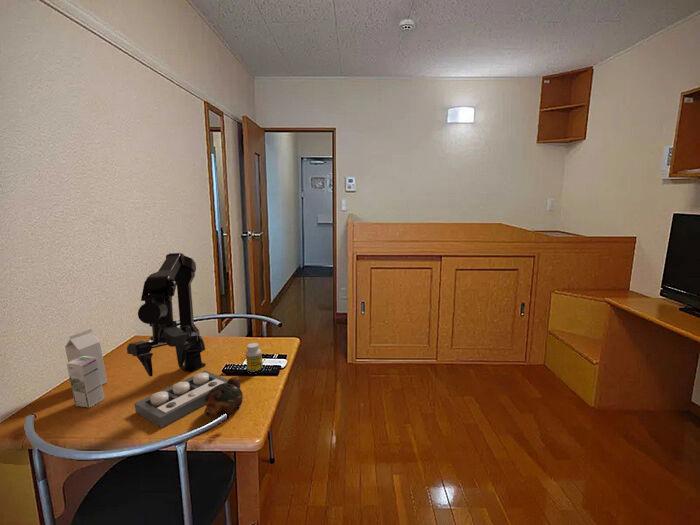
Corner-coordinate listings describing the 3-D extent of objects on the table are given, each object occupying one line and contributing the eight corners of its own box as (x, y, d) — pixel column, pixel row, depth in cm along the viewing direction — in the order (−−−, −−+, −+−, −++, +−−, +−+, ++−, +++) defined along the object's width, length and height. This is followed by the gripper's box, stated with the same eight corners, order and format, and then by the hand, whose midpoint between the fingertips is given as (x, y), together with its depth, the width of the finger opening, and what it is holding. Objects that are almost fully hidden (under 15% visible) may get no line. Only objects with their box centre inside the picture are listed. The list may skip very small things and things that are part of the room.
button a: (147, 403, 118) (147, 397, 118) (163, 395, 122) (162, 389, 122) (156, 408, 115) (155, 401, 115) (172, 400, 119) (171, 394, 119)
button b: (170, 392, 124) (169, 386, 123) (184, 386, 128) (183, 380, 127) (179, 397, 121) (178, 390, 121) (193, 390, 125) (192, 384, 124)
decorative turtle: (252, 398, 124) (250, 374, 122) (227, 427, 109) (224, 400, 108) (224, 395, 126) (221, 372, 124) (195, 424, 111) (192, 397, 110)
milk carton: (107, 382, 137) (98, 330, 133) (86, 393, 131) (76, 337, 127) (94, 379, 140) (84, 327, 136) (72, 389, 134) (62, 335, 130)
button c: (190, 383, 129) (189, 377, 129) (203, 376, 133) (202, 371, 133) (199, 387, 127) (198, 381, 126) (212, 380, 130) (211, 374, 130)
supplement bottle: (259, 365, 145) (257, 340, 144) (265, 371, 141) (263, 345, 139) (245, 369, 143) (242, 344, 141) (250, 375, 138) (248, 349, 136)
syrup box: (105, 399, 126) (97, 356, 124) (88, 409, 121) (80, 364, 118) (91, 397, 128) (83, 354, 125) (74, 407, 122) (65, 362, 120)
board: (135, 412, 118) (134, 401, 117) (206, 378, 137) (205, 369, 136) (161, 427, 110) (160, 416, 109) (232, 389, 129) (231, 379, 128)
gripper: (145, 325, 105) (149, 385, 105) (207, 314, 120) (210, 366, 120) (124, 323, 111) (128, 379, 111) (185, 313, 126) (188, 362, 127)
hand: (166, 371), depth 117 cm, fingers open, 9 cm apart
